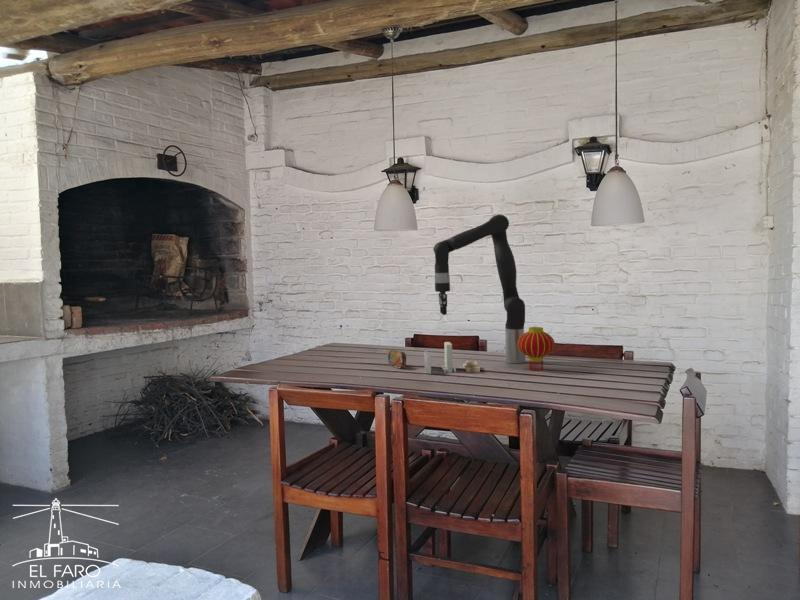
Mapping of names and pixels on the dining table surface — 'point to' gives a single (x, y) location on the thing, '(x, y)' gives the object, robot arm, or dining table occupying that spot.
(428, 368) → the rack
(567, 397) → the dining table surface
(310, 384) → the dining table surface
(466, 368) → the offcuts
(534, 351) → the lantern
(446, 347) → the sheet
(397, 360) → the tin
